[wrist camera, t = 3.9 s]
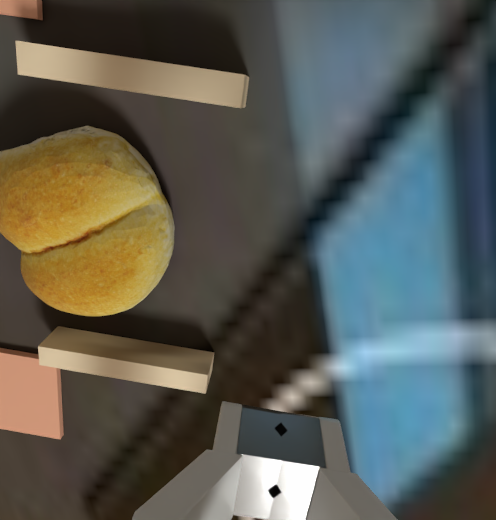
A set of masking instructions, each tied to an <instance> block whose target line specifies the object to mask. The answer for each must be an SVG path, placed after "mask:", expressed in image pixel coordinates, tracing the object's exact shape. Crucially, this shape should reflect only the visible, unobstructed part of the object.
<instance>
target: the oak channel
mask: <svg viewBox="0 0 496 520" xmlns="http://www.w3.org/2000/svg"><path fill="white" fill-rule="evenodd" d="M16 54H17V67H18V74H19V75H25V76H32V77H38V78H45V79H52V80H58V81H65V82H72V83H78V84H85V85H91V86H98V87H105V88H111V89H118V90H124V91H131V92H138V93H144V94H151V95H157V96H164V97H171V98H177V99H184V100H190V101H197V102H204V103H210V104H217V105H224V106H230V107H237V108H244V107H246V99H247V91H248V84H249V77H248V76H246V75H243V74H237V73H230V72H223V71H216V70H210V69H203V68H196V67H190V66H183V65H176V64H169V63H163V62H156V61H149V60H143V59H136V58H129V57H122V56H116V55H109V54H102V53H96V52H89V51H82V50H75V49H69V48H62V47H55V46H48V45H42V44H35V43H28V42H22V41H16ZM38 352H39V365H42V366H48V367H54V368H60V369H66V370H71V371H77V372H83V373H89V374H95V375H100V376H106V377H112V378H118V379H124V380H130V381H135V382H141V383H147V384H153V385H159V386H164V387H170V388H176V389H182V390H188V391H194V392H199V393H205V394H206V390H207V387H208V383H209V379H210V375H211V372H212V366H213V358H214V352H208V351H202V350H196V349H190V348H184V347H178V346H173V345H167V344H161V343H155V342H149V341H143V340H137V339H131V338H125V337H119V336H113V335H107V334H101V333H96V332H90V331H84V330H78V329H72V328H66V327H60V326H58V327H57V328H56V329H55V330H54V331H53V332H52V333H51V334H50V335H49V336H48V337H47V338H46V339H45V340H44V341H43V342H42V343H41V344H40V345H39V346H38Z"/></svg>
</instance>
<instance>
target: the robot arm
mask: <svg viewBox="0 0 496 520" xmlns="http://www.w3.org/2000/svg"><path fill="white" fill-rule="evenodd" d="M233 515H238V516H245V517H253V518H260V519H268V520H397V519H396V518H395V517H394V515H393V514H392V513H391V512H390V511H389V510H388V509H387V508H386V506H385V505H384V504H383V503H382V502H381V501H380V500H379V499H378V497H377V496H376V495H375V494H374V493H373V492H372V491H371V490H370V488H369V487H368V486H367V485H366V484H365V483H364V482H363V481H362V479H361V478H360V477H359V476H358V475H357V474H354V473H350V468H349V463H348V458H347V454H346V449H345V444H344V439H343V435H342V430H341V425H340V422H339V421H338V420H337V419H330V418H322V417H313V416H306V415H300V414H293V413H287V412H280V411H275V410H270V409H264V408H259V407H253V406H248V405H241V404H235V403H230V402H224V401H223V402H222V405H221V409H220V415H219V420H218V425H217V430H216V436H215V441H214V446H213V450H206V451H205V452H203V453H202V454H201V455H200V456H199V457H198V458H196V459H195V460H194V461H193V462H192V463H191V464H190V465H188V466H187V467H186V468H185V469H184V470H183V471H181V472H180V473H179V474H178V475H177V476H176V477H175V478H173V479H172V480H171V481H170V482H169V483H168V484H166V485H165V486H164V487H163V488H162V489H161V490H160V491H158V492H157V493H156V494H155V495H154V496H153V497H152V498H150V499H149V500H148V501H147V502H146V503H145V504H143V505H142V506H141V507H140V508H139V509H138V510H137V511H135V513H134V515H133V518H132V520H231V518H232V516H233Z"/></svg>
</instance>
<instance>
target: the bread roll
mask: <svg viewBox="0 0 496 520" xmlns="http://www.w3.org/2000/svg"><path fill="white" fill-rule="evenodd" d="M174 229H175V228H174V221H173V216H172V211H171V208H170V206H169V204H168V202H167V200H166V199H165V197H164V195H163V193H162V191H161V188H160V185H159V182H158V179H157V177H156V175H155V173H154V171H153V170H152V168H151V167H150V165H149V164H148V162H147V161H146V160H145V159H144V158H143V156H142V155H141V154H140V153H139V152H138V151H137V150H136V149H135V148H134V147H133V146H132V145H130V144H129V143H128V142H127V141H126V140H125V139H124V138H122V137H121V136H119V135H117V134H115V133H112V132H109V131H105V130H102V129H97V128H94V127H91V126H84V127H80V128H76V129H72V130H68V131H64V132H59V133H56V134H54V135H52V136H49V137H41V138H40V139H37V140H35V141H33V142H32V143H30V144H26V145H21V146H19V147H16V148H13V149H9V150H4V151H0V232H1V234H2V235H3V236H4V237H5V238H6V239H8V240H9V241H10V242H11V243H13V244H14V245H15V246H16V247H17V248H18V249H20V250H21V251H22V252H21V273H22V276H23V279H24V280H25V283H26V285H27V286H28V287H29V288H30V290H31V291H32V292H33V293H34V294H35V295H36V296H37V297H39V298H40V299H41V300H42V301H44V302H45V303H46V304H48V305H50V306H51V307H53V308H55V309H58V310H60V311H64V312H68V313H72V314H77V315H83V316H105V315H112V314H116V313H119V312H123V311H126V310H128V309H130V308H132V307H134V306H135V305H136V304H138V303H139V302H141V301H142V300H143V299H144V298H145V297H146V296H147V295H148V294H149V293H150V292H151V291H152V290H153V289H154V288H155V286H156V285H157V284H158V283H159V281H160V279H161V277H162V276H163V275H164V272H165V270H166V268H167V266H168V264H169V260H170V258H171V255H172V251H173V245H174Z"/></svg>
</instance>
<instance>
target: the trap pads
mask: <svg viewBox="0 0 496 520" xmlns="http://www.w3.org/2000/svg"><path fill="white" fill-rule="evenodd" d="M0 14H2V15H9V16H16V17H23V18H30V19H36V20H43V12H42V0H0ZM0 429H5V430H10V431H16V432H22V433H27V434H33V435H39V436H44V437H50V438H56V439H61V438H62V436H63V435H64V434H63V414H62V394H61V374H60V368H54V367H48V366H42V365H39V354H33V353H27V352H21V351H16V350H10V349H4V348H0Z"/></svg>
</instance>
